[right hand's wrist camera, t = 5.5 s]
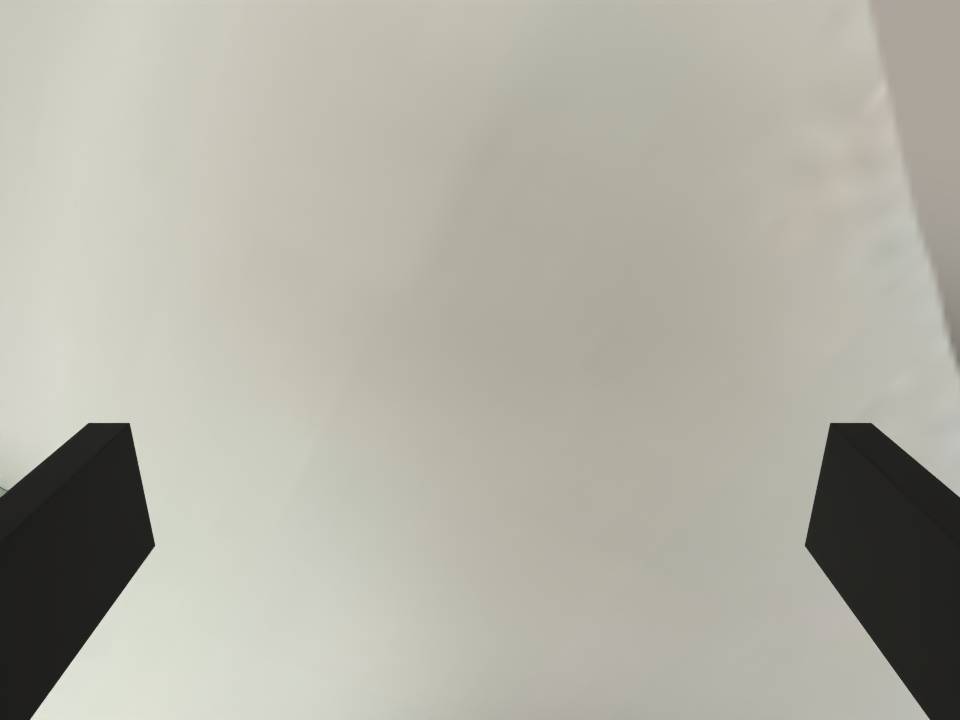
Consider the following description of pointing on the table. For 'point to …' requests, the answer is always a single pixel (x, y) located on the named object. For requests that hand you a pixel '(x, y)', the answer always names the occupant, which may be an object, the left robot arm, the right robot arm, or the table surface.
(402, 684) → the table surface
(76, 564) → the right robot arm
